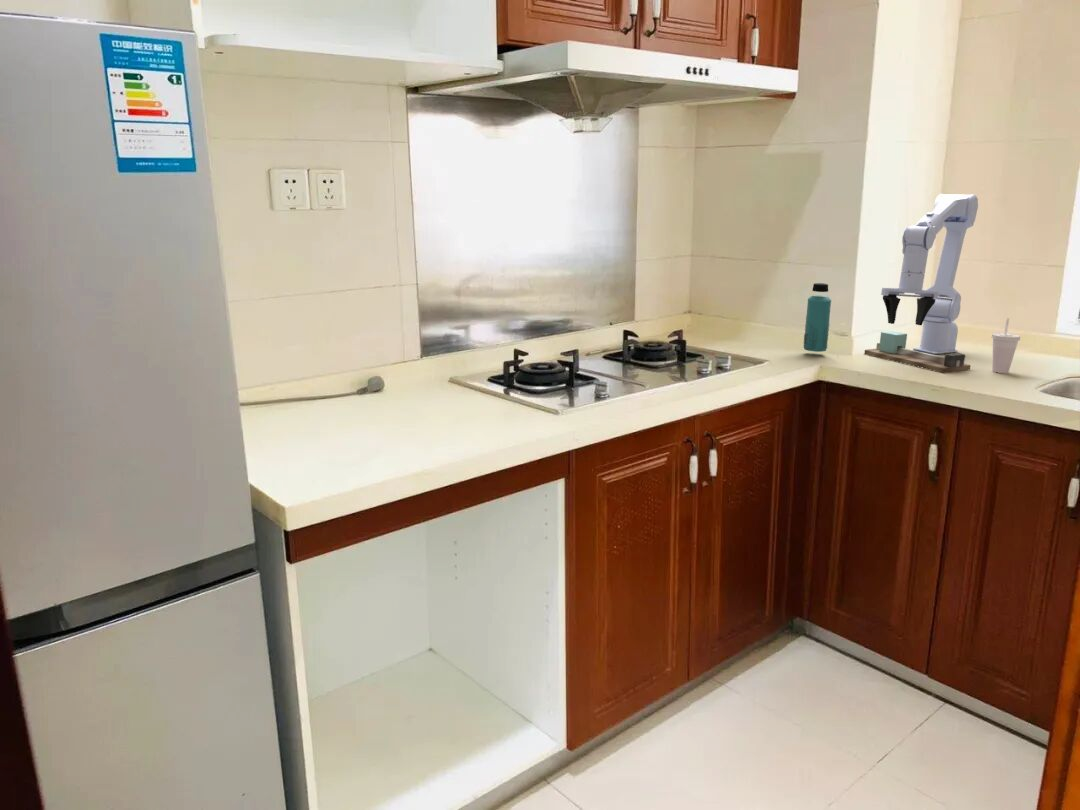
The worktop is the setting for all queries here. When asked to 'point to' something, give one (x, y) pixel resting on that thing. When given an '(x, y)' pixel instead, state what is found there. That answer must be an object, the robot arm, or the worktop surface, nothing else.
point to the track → (923, 359)
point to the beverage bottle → (817, 320)
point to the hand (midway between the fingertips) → (904, 324)
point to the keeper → (892, 341)
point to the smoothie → (1003, 350)
